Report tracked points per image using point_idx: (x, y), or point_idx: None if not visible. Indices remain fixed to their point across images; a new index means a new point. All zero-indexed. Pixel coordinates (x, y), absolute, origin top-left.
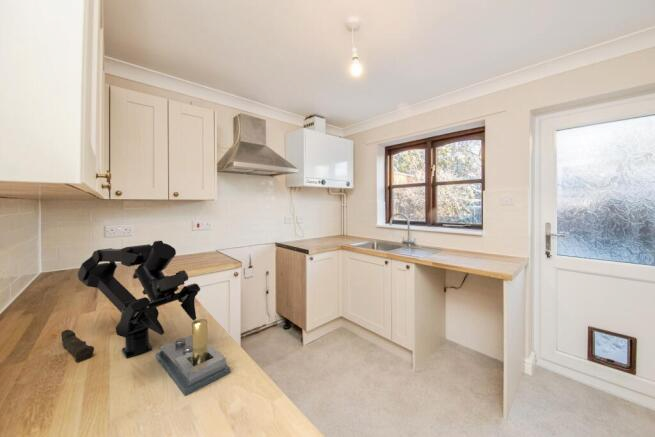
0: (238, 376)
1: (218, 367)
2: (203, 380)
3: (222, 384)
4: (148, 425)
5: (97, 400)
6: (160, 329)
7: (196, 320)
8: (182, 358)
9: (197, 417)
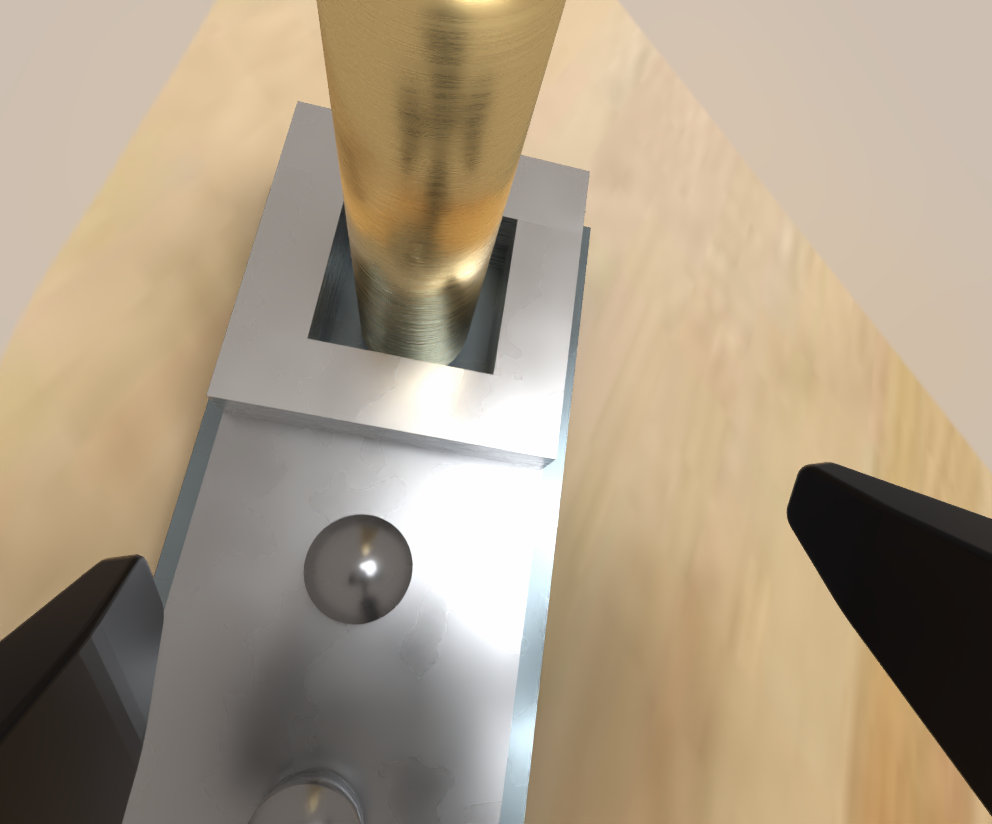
0: (288, 117)
1: None
2: None
3: None
4: (764, 226)
5: None
6: (900, 487)
7: (439, 4)
8: (514, 401)
9: (609, 86)
